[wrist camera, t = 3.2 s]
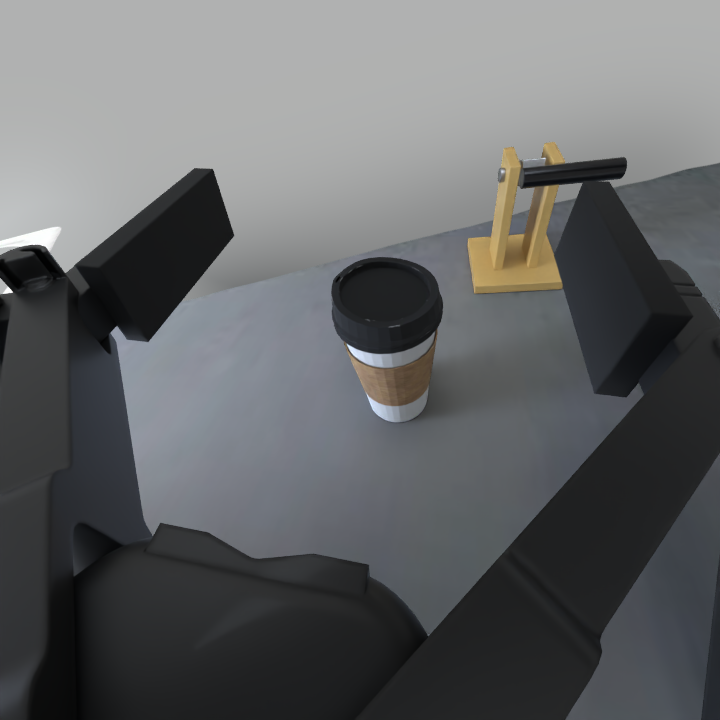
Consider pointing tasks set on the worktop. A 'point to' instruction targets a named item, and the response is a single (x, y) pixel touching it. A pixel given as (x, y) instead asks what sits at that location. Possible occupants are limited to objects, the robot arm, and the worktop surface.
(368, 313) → the coffee cup
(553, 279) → the lever stand
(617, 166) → the lever handle
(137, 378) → the worktop surface
